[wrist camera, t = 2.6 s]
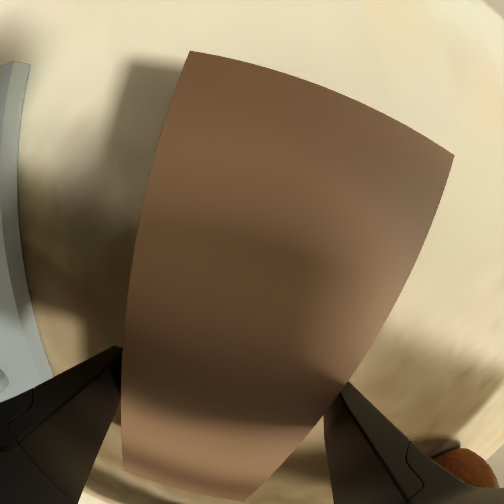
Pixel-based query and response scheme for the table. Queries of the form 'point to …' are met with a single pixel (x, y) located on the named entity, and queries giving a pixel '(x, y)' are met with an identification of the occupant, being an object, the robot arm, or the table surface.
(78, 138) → the table surface
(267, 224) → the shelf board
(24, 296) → the peg stand
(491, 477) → the wooden figurine
